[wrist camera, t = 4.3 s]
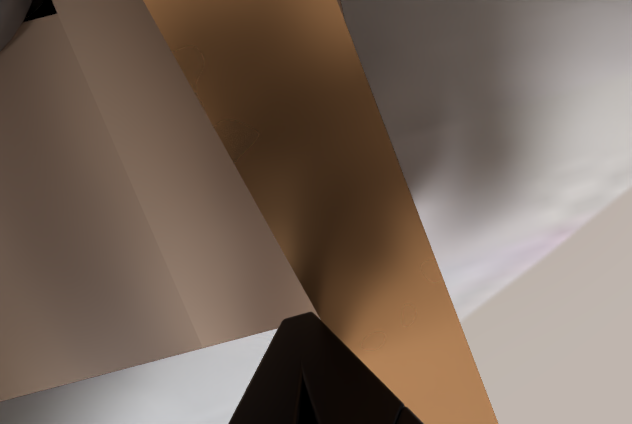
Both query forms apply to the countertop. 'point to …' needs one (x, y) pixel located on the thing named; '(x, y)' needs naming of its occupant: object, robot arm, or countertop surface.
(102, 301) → the socket block
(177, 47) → the orange wooden strip
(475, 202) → the countertop surface
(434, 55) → the countertop surface
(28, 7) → the plug
